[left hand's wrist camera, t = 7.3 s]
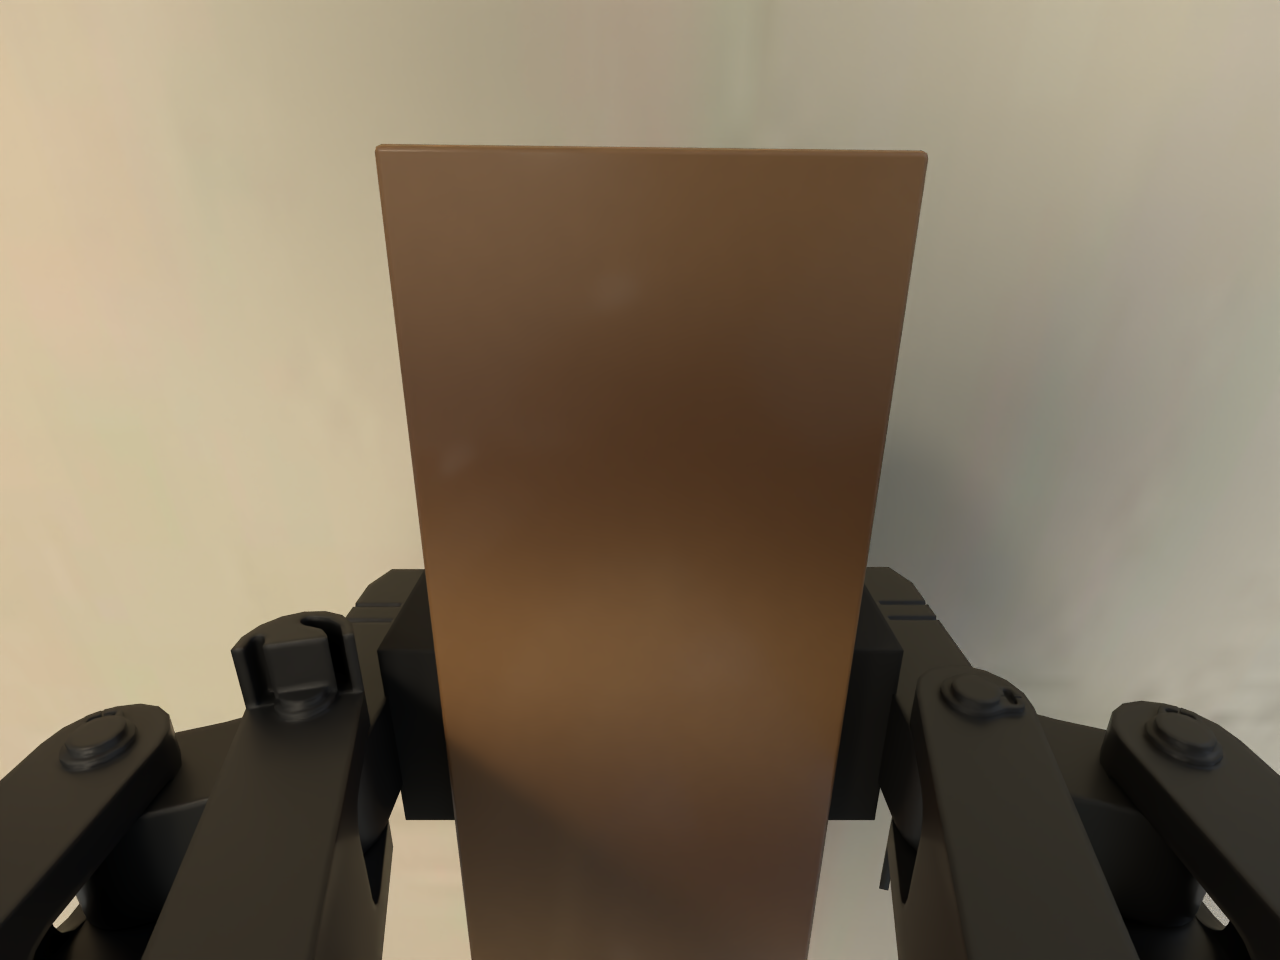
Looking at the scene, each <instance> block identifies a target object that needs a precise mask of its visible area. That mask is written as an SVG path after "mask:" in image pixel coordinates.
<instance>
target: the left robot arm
mask: <svg viewBox="0 0 1280 960" xmlns="http://www.w3.org/2000/svg"><path fill="white" fill-rule="evenodd" d="M231 654H232V657H233V661H234V665H235V668H236V672H237V676H238V680H239V683H240V687H241V691H242V695H243V698H244V702H245V706H246V710H245V712H244V715H243V717H242V718H239V719H235V720H232V721H228V722H224V723H219V724H214V725H210V726H205V727H200V728H196V729H191V730H186V731H182V732H177V733H175V732H174V729H173V726H172V722H171V719H170V716H169V714H167V713H166V712H165V711H164V710H162V709H161V708H160V707H159V706H152V705H146V704H134V705H125V706H117V707H113V708H109V709H105V710H104V711H98V712H96V713H93V714H90V715H88V716H86V717H84V718H82V719H80V720H78V721H76V722H74V723H72V724H70V725H68V726H66V727H64V728H62V729H61V730H59V731H58V732H57V733H55V734H54V735H53V736H51V737H50V738H48V739H47V740H46V741H44V742H43V743H42V744H40V745H39V746H38V747H37V748H36V749H35V750H34V751H33V752H32V753H30V754H29V755H28V756H27V757H26V758H25V759H24V760H23V761H22V762H20V763H19V764H18V765H17V766H16V767H15V768H14V769H13V770H12V771H11V772H9V773H8V774H7V775H6V776H5V777H4V778H3V779H2V780H1V781H0V960H382V952H383V942H384V932H385V922H386V912H387V902H388V892H389V882H390V872H391V862H392V852H393V843H392V837H391V831H390V825H389V820H388V819H389V817H390V815H391V812H392V810H393V807H394V805H395V802H396V800H397V797H398V795H399V792H400V790H401V794H402V800H403V806H404V812H405V818H406V820H455V817H454V808H453V800H452V792H451V783H450V775H449V767H448V758H447V750H446V742H445V733H444V725H443V716H442V708H441V700H440V691H439V683H438V675H437V666H436V658H435V650H434V641H433V633H432V625H431V616H430V608H429V600H428V591H427V583H426V575H425V569H392V570H390V571H389V572H387V573H386V574H384V575H383V576H381V577H380V578H378V579H377V580H375V581H374V582H372V583H371V584H369V585H368V587H367V588H366V589H365V591H364V592H363V594H362V595H361V597H360V598H359V599H358V601H357V602H356V607H353V608H352V609H351V611H350V612H349V613H348V615H347V616H346V618H345V617H344V616H343V615H340V614H335V613H331V612H327V611H315V612H301V613H296V614H292V615H287V616H282V617H280V618H277V619H275V620H272V621H270V622H267V623H265V624H262V625H260V626H258V627H257V628H255V629H254V630H252V631H250V632H249V633H247V634H246V635H244V636H243V637H242V638H241V639H240V640H239V641H238V642H237V643H236V645H235V646H234V647H233V648H232V649H231ZM880 788H881V790H882V793H883V795H884V798H885V800H886V803H887V805H888V808H889V810H890V812H891V815H892V820H891V825H890V831H889V836H888V841H887V847H886V852H885V858H884V863H883V868H882V874H881V880H880V887H879V889H884V890H888V889H889V884H890V881H891V890H892V900H893V910H894V920H895V930H896V940H897V950H898V960H1280V776H1279V775H1278V774H1277V773H1276V772H1275V771H1274V770H1273V769H1272V768H1271V767H1269V766H1268V765H1267V764H1266V763H1265V762H1264V761H1263V760H1262V759H1260V758H1259V757H1258V756H1257V755H1256V754H1255V753H1254V752H1253V751H1252V750H1250V749H1249V748H1248V747H1247V746H1246V745H1245V744H1244V743H1243V742H1242V741H1240V740H1239V739H1238V738H1236V737H1235V736H1233V735H1232V734H1231V733H1229V732H1228V731H1226V730H1225V729H1224V728H1222V727H1221V726H1220V725H1218V724H1216V723H1214V722H1212V721H1210V720H1208V719H1206V718H1204V717H1201V716H1199V715H1198V714H1196V713H1194V712H1192V711H1189V710H1186V709H1183V708H1178V707H1176V706H1172V705H1168V704H1164V703H1155V702H1147V701H1137V702H1130V703H1124V704H1122V705H1120V706H1119V707H1118V708H1117V709H1115V710H1114V711H1113V712H1112V715H1111V718H1110V721H1109V724H1108V727H1107V730H1103V729H1099V728H1094V727H1089V726H1084V725H1080V724H1075V723H1070V722H1065V721H1061V720H1056V719H1052V718H1049V717H1045V716H1041V715H1038V714H1036V711H1035V709H1034V707H1033V706H1032V704H1031V703H1030V701H1029V700H1028V699H1027V697H1026V696H1025V694H1024V693H1023V692H1021V691H1020V690H1019V689H1017V688H1016V687H1015V686H1013V685H1012V684H1011V683H1009V682H1008V681H1007V680H1005V679H1002V678H1000V677H998V676H996V675H994V674H992V673H989V672H987V671H984V670H980V669H976V668H973V667H972V666H971V664H970V663H969V662H968V660H967V659H966V657H965V656H964V655H963V653H962V652H961V650H960V649H959V648H958V646H957V645H956V643H955V642H954V641H953V639H952V638H951V636H950V635H949V634H948V632H947V631H946V629H945V628H944V627H943V625H942V624H941V623H940V621H939V620H936V616H935V614H934V613H933V611H932V610H931V609H930V607H929V606H928V605H925V600H924V599H923V597H922V596H921V595H920V593H919V592H918V590H917V589H916V588H915V586H914V585H913V583H912V582H910V581H909V580H907V579H906V578H904V577H903V576H901V575H900V574H898V573H897V572H895V571H894V570H892V569H891V568H889V567H866V573H865V580H864V586H863V593H862V599H861V606H860V613H859V619H858V626H857V632H856V639H855V646H854V652H853V659H852V666H851V672H850V679H849V685H848V692H847V699H846V705H845V712H844V718H843V725H842V732H841V738H840V745H839V751H838V758H837V765H836V771H835V778H834V785H833V791H832V798H831V804H830V811H829V818H828V820H875V814H876V809H877V803H878V797H879V791H880ZM1206 892H1207V893H1208V895H1209V896H1210V897H1211V898H1212V900H1213V901H1214V902H1215V903H1216V904H1217V906H1218V907H1219V908H1220V909H1221V911H1222V912H1223V913H1224V914H1225V915H1226V917H1227V918H1228V919H1229V920H1230V921H1229V923H1228V925H1227V926H1224V925H1223V924H1222V923H1221V922H1220V921H1219V920H1218V919H1217V918H1216V917H1215V916H1214V915H1213V914H1212V913H1211V912H1210V910H1209V909H1208V908H1207V907H1206V905H1205V904H1204V903H1203V902H1202V901H1203V898H1204V896H1205V894H1206ZM75 895H76V897H77V899H78V901H79V905H78V906H77V908H76V909H75V910H74V911H73V913H72V914H71V915H70V916H69V918H68V919H66V920H65V921H64V922H63V923H62V924H61V925H60V926H59V927H58V928H57V929H56V928H55V927H54V926H53V922H54V921H55V920H56V919H57V918H58V916H59V915H60V914H61V913H62V911H63V910H64V909H65V908H66V907H67V905H68V904H69V903H70V902H71V900H72V899H73V898H74V897H75Z"/></svg>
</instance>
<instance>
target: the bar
mask: <svg viewBox="0 0 1280 960" xmlns="http://www.w3.org/2000/svg"><path fill="white" fill-rule="evenodd" d="M375 157H376V165H377V174H378V182H379V190H380V199H381V207H382V216H383V224H384V232H385V241H386V249H387V257H388V266H389V274H390V282H391V291H392V299H393V307H394V316H395V324H396V332H397V341H398V349H399V357H400V366H401V374H402V383H403V391H404V399H405V408H406V416H407V424H408V433H409V441H410V449H411V458H412V466H413V474H414V483H415V491H416V499H417V508H418V516H419V524H420V533H421V541H422V549H423V558H424V566H425V575H426V583H427V591H428V600H429V608H430V616H431V625H432V633H433V641H434V650H435V658H436V666H437V675H438V683H439V691H440V700H441V708H442V716H443V725H444V733H445V742H446V750H447V758H448V767H449V775H450V783H451V792H452V800H453V808H454V817H455V825H456V833H457V842H458V850H459V858H460V867H461V875H462V883H463V892H464V900H465V909H466V917H467V925H468V934H469V942H470V950H471V959H472V960H807V956H808V950H809V943H810V937H811V930H812V923H813V917H814V910H815V904H816V897H817V890H818V884H819V877H820V871H821V864H822V857H823V851H824V844H825V837H826V831H827V824H828V818H829V811H830V804H831V798H832V791H833V785H834V778H835V771H836V765H837V758H838V751H839V745H840V738H841V732H842V725H843V718H844V712H845V705H846V699H847V692H848V685H849V679H850V672H851V666H852V659H853V652H854V646H855V639H856V632H857V626H858V619H859V613H860V606H861V599H862V593H863V586H864V580H865V573H866V566H867V560H868V553H869V546H870V540H871V533H872V527H873V520H874V513H875V507H876V500H877V494H878V487H879V480H880V474H881V467H882V460H883V454H884V447H885V441H886V434H887V427H888V421H889V414H890V408H891V401H892V394H893V388H894V381H895V375H896V368H897V361H898V355H899V348H900V341H901V335H902V328H903V322H904V315H905V308H906V302H907V295H908V289H909V282H910V275H911V269H912V262H913V255H914V249H915V242H916V236H917V229H918V222H919V216H920V209H921V203H922V196H923V189H924V183H925V176H926V170H927V163H928V155H927V153H925V152H923V151H908V150H826V149H744V148H662V147H580V146H498V145H416V144H381V145H379V146H376V150H375Z"/></svg>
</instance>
